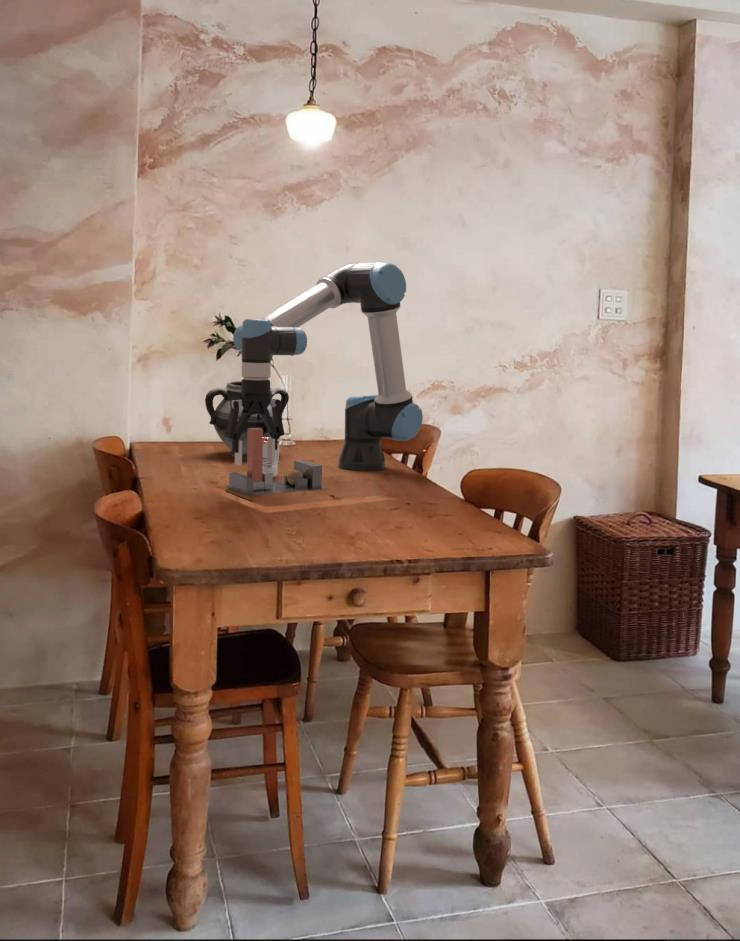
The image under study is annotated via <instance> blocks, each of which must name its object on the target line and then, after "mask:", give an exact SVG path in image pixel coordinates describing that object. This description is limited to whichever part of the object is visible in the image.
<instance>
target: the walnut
mask: <svg viewBox="0 0 740 941" xmlns="http://www.w3.org/2000/svg"><path fill="white" fill-rule="evenodd" d="M286 475H287V480H288V482H289V483H290V484H291V485H293V486H295V479H301V478H303V475H302V473H301V472H300V471H298V470H294V469H293V470H291V471H289V472H288V474H286Z"/></svg>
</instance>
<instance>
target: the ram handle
mask: <svg viewBox="0 0 740 941" xmlns="http://www.w3.org/2000/svg"><path fill="white" fill-rule="evenodd" d="M262 466H263V429H260V428H248V432H247V459H246V476H248V477H250V478H253V490H259V489H272V488H273V482H274V481H273V480H274V477H273V474H272V473H269V472H266V471H262Z"/></svg>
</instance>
